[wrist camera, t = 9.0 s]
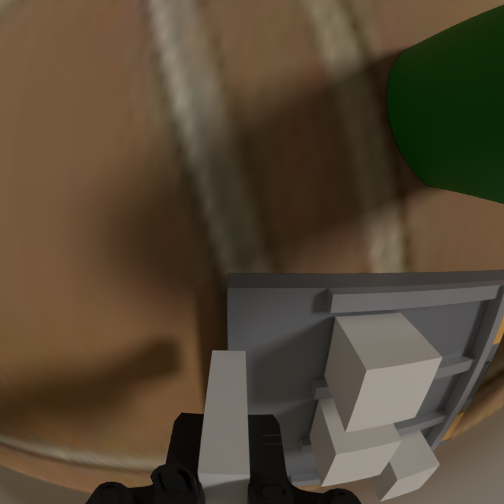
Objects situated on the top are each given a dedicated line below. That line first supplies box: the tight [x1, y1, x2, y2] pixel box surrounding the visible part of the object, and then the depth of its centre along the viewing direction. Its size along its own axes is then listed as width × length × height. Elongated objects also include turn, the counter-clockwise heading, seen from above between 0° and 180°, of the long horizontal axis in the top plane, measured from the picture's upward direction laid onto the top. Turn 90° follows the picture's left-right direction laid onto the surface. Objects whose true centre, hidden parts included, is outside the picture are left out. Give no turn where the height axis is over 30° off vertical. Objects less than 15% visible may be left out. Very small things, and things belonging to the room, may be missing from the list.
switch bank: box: [227, 270, 504, 487], centre depth 18 cm, size 22×19×3 cm
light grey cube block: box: [324, 313, 442, 432], centre depth 13 cm, size 4×4×4 cm
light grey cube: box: [309, 398, 402, 487], centre depth 15 cm, size 4×4×4 cm
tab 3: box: [371, 430, 440, 501], centre depth 17 cm, size 4×4×4 cm
